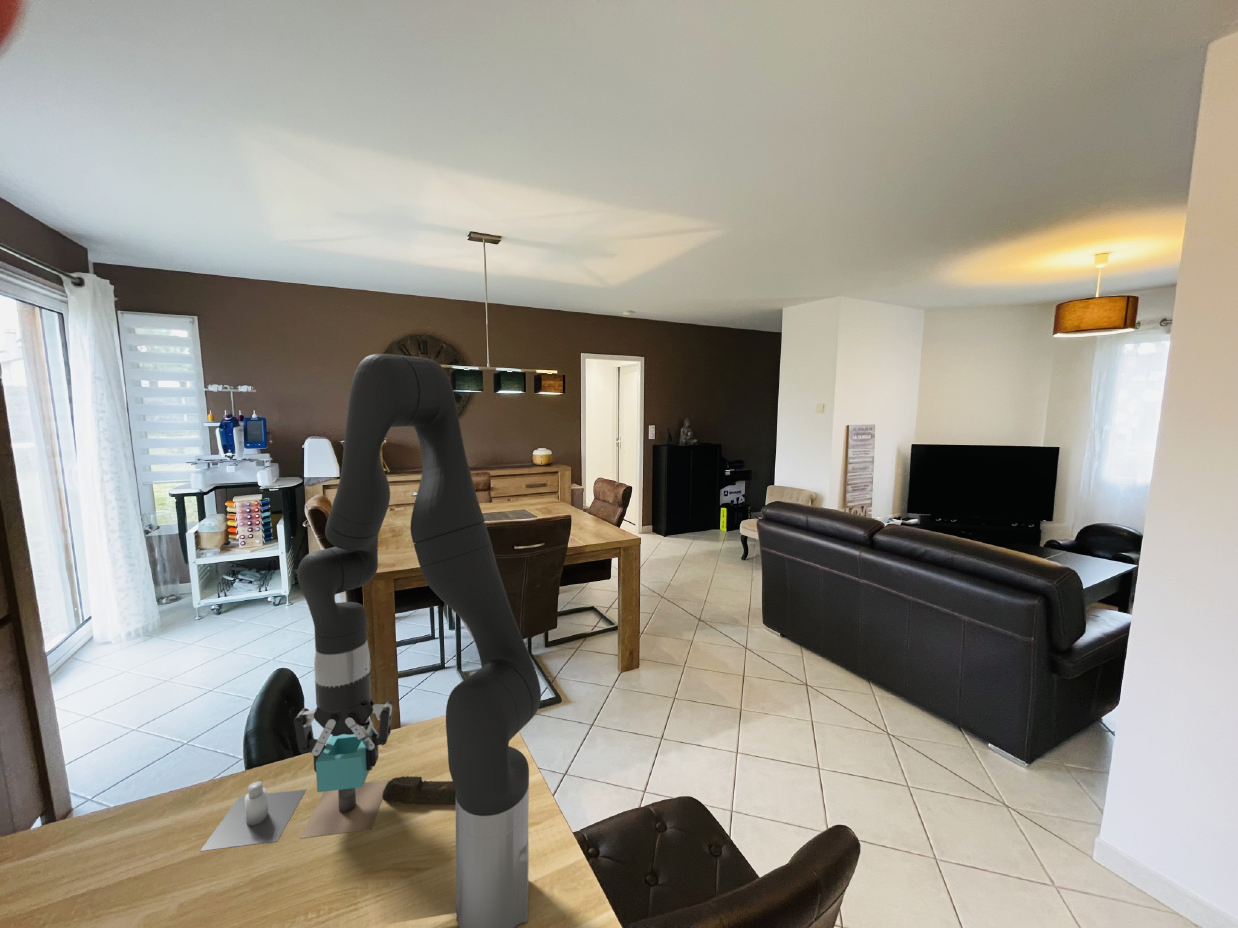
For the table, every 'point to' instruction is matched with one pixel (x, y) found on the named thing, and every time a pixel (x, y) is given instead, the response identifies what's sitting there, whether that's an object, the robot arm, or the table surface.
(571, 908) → the table surface
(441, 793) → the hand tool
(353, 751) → the collar
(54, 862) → the table surface
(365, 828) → the rod stand
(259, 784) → the grey peg base
